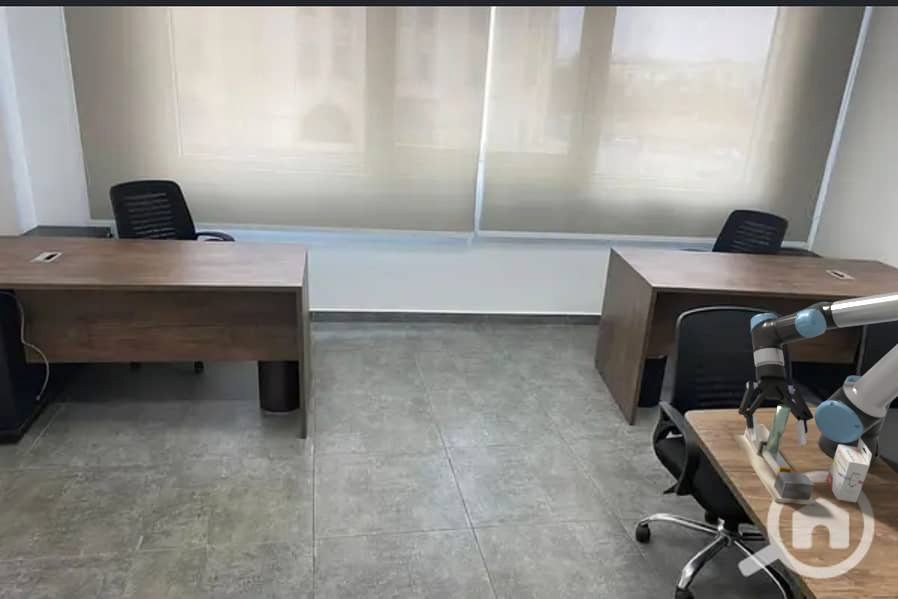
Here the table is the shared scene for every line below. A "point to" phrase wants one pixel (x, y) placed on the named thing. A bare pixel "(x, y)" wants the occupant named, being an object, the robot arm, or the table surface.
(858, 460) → the ink cartridge box
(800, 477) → the tube rig
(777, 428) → the tube
